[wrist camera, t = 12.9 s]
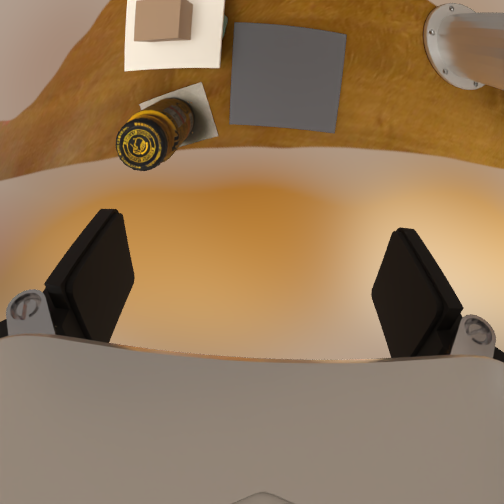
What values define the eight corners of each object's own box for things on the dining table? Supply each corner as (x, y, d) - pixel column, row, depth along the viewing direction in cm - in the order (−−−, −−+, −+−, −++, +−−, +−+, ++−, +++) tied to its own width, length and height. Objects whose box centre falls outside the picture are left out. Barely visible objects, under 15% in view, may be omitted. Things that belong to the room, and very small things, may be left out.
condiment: (139, 103, 35) (97, 126, 25) (201, 81, 34) (177, 94, 24) (158, 153, 39) (124, 191, 29) (218, 135, 38) (202, 168, 28)
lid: (227, -20, 22) (220, -35, 17) (220, 67, 28) (211, 70, 23) (131, -13, 21) (108, -22, 17) (127, 70, 27) (103, 75, 23)
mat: (345, 34, 29) (346, 34, 29) (333, 132, 37) (334, 133, 36) (234, 22, 29) (234, 22, 29) (229, 123, 37) (229, 124, 36)
